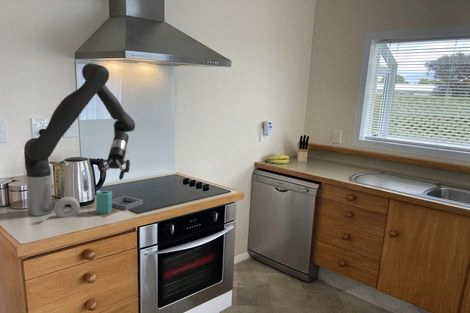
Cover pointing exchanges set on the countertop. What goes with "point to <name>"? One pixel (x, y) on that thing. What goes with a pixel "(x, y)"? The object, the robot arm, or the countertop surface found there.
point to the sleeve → (104, 202)
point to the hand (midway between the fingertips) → (111, 178)
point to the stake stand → (104, 214)
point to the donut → (65, 201)
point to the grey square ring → (124, 198)
